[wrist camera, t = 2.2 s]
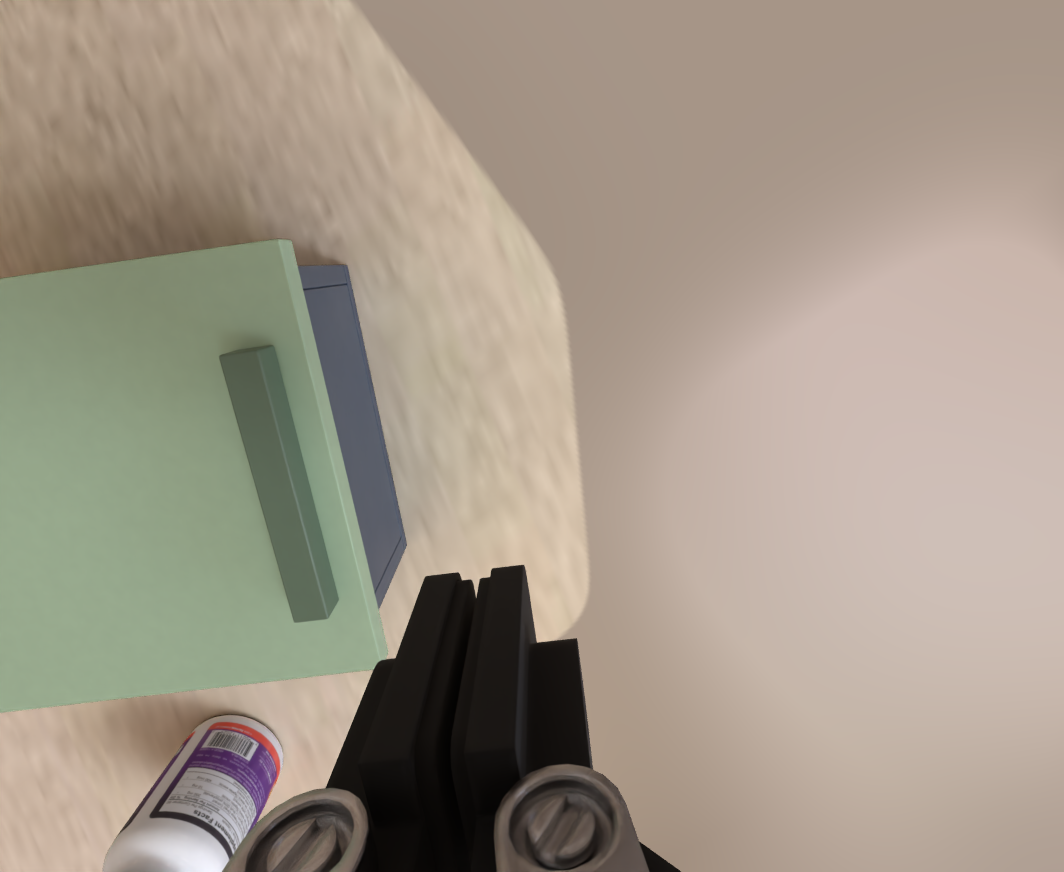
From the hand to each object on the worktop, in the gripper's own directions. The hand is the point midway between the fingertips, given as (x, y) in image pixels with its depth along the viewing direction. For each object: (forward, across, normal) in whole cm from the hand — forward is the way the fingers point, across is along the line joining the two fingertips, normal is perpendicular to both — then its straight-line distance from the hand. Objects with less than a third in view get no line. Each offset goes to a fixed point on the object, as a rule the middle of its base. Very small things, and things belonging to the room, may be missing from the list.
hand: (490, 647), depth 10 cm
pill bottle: (+18, +18, +18) cm, 31 cm away
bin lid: (+11, +13, 0) cm, 17 cm away
